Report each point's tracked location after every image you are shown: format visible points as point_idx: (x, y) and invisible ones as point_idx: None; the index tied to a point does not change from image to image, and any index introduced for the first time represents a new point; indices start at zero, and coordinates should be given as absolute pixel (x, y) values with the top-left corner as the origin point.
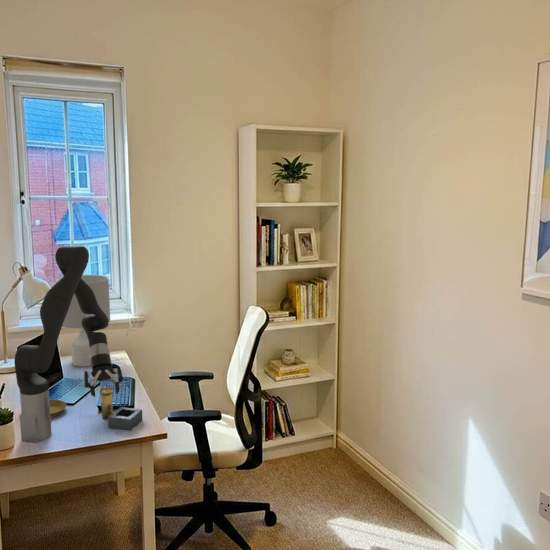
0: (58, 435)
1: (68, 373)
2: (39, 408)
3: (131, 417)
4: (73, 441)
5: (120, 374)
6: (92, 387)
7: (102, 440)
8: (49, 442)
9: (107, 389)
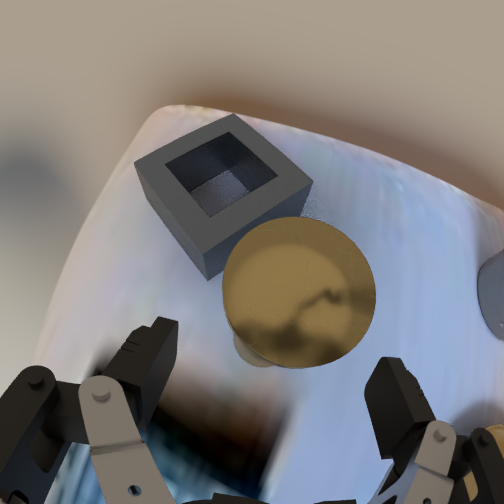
0: (461, 269)
1: None
2: None
3: (218, 122)
4: (420, 200)
5: (2, 429)
6: (425, 410)
7: (338, 151)
8: (474, 238)
9: (291, 288)
